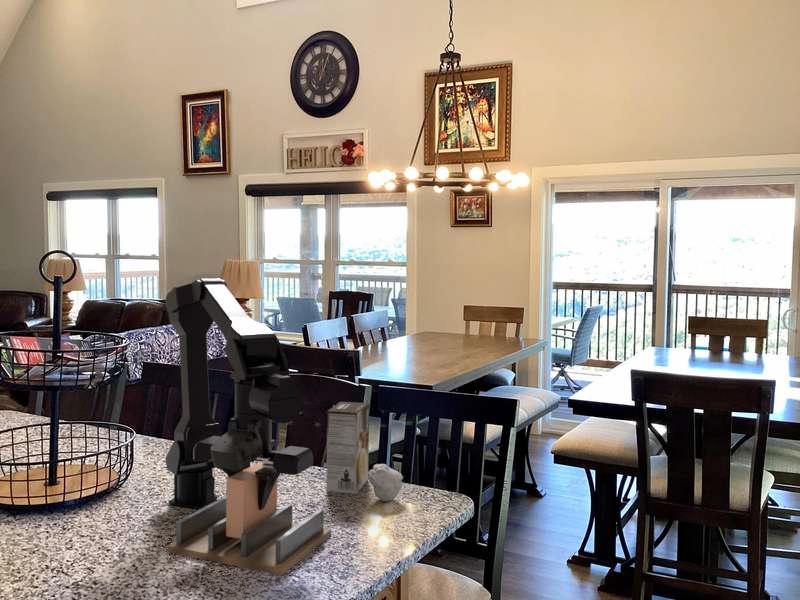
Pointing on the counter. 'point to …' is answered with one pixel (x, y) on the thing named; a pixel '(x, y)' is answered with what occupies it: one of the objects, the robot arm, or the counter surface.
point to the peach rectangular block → (246, 502)
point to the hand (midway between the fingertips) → (252, 507)
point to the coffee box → (347, 447)
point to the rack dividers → (251, 530)
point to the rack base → (257, 560)
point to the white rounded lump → (385, 482)
